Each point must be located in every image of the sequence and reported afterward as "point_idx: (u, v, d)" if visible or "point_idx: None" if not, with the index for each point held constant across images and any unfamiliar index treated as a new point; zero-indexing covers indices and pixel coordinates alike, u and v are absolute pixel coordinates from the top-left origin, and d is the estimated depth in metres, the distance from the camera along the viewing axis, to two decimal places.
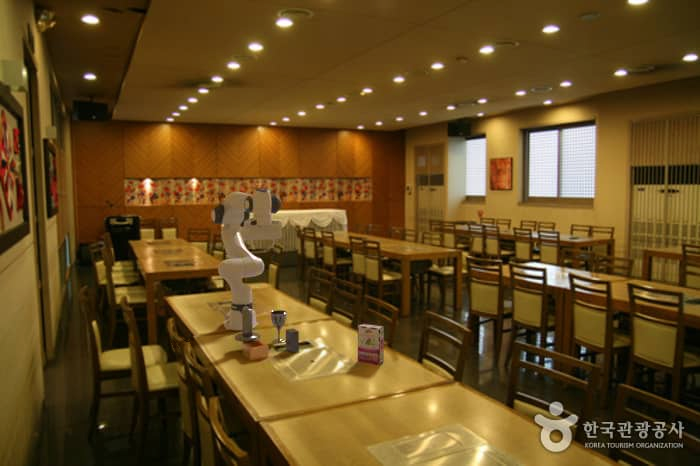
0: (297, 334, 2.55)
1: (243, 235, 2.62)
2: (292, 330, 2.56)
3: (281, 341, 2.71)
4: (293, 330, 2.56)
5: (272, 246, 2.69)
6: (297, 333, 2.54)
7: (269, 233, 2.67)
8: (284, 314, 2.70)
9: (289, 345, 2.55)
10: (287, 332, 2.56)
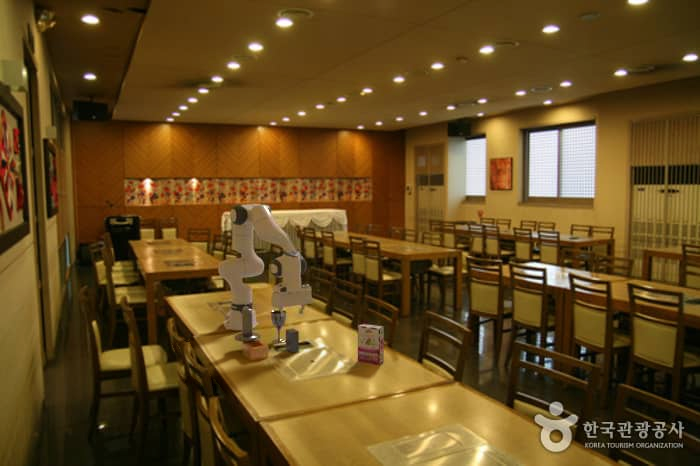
0: (297, 334, 2.55)
1: (272, 302, 2.50)
2: (292, 330, 2.56)
3: (281, 341, 2.71)
4: (293, 330, 2.56)
5: (302, 312, 2.57)
6: (296, 333, 2.54)
7: (299, 299, 2.55)
8: None
9: (289, 345, 2.55)
10: (287, 332, 2.56)
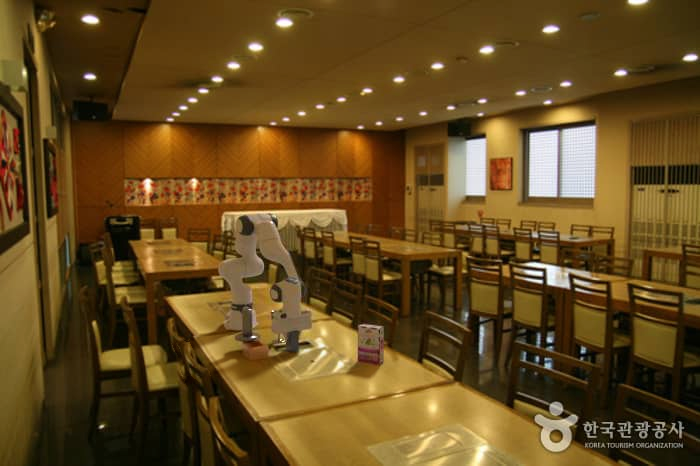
0: (297, 334, 2.55)
1: (272, 328, 2.51)
2: None
3: (281, 341, 2.71)
4: None
5: None
6: (297, 333, 2.54)
7: (299, 324, 2.56)
8: None
9: (289, 345, 2.55)
10: None
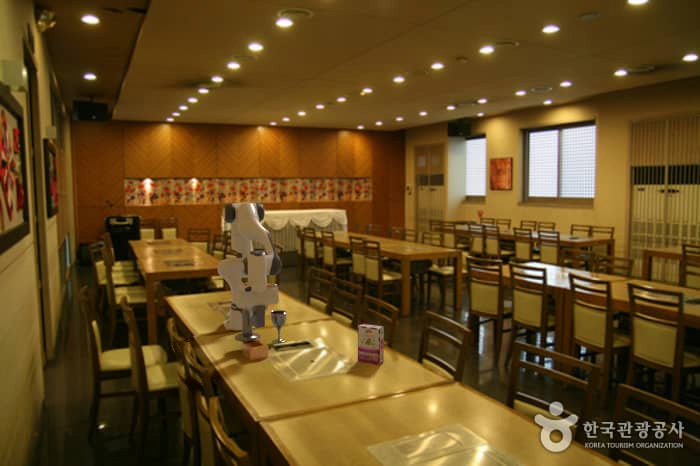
0: (263, 308, 2.46)
1: (237, 302, 2.43)
2: None
3: (281, 341, 2.71)
4: None
5: None
6: (262, 307, 2.46)
7: (265, 299, 2.48)
8: (284, 314, 2.70)
9: (254, 320, 2.47)
10: (253, 307, 2.48)
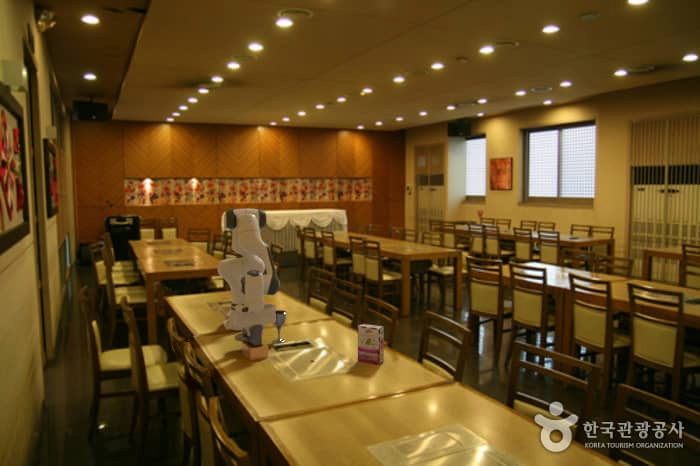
0: (260, 328, 2.46)
1: (234, 322, 2.43)
2: None
3: (281, 341, 2.71)
4: None
5: None
6: (259, 327, 2.46)
7: (262, 318, 2.48)
8: (284, 314, 2.70)
9: (251, 340, 2.47)
10: None
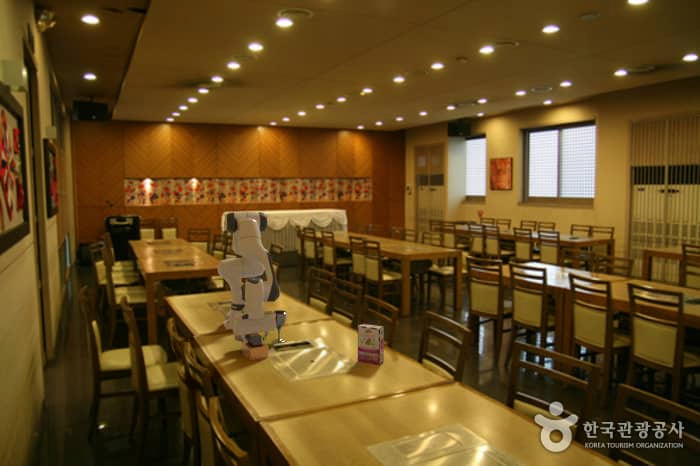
0: (260, 338, 2.47)
1: (234, 329, 2.43)
2: (254, 335, 2.48)
3: (281, 341, 2.71)
4: (256, 334, 2.49)
5: (265, 338, 2.51)
6: (259, 337, 2.47)
7: (262, 325, 2.48)
8: (284, 314, 2.70)
9: None
10: (250, 336, 2.49)
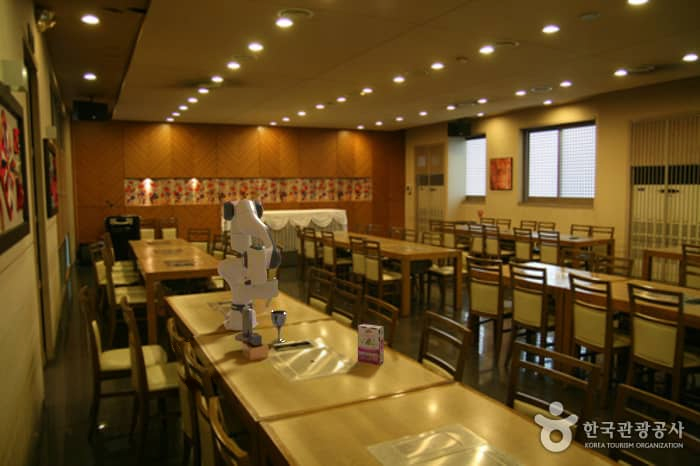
0: (260, 338, 2.47)
1: (236, 295, 2.45)
2: (255, 335, 2.48)
3: (281, 341, 2.71)
4: (256, 334, 2.49)
5: (267, 305, 2.53)
6: (259, 337, 2.47)
7: (264, 292, 2.50)
8: (284, 314, 2.70)
9: None
10: (250, 336, 2.49)
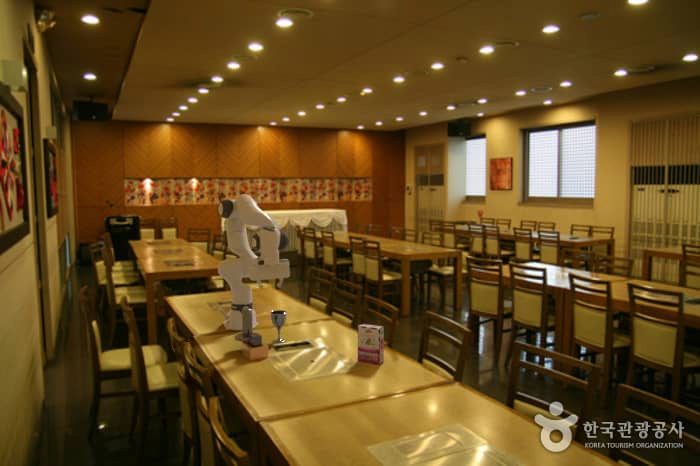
0: (260, 338, 2.47)
1: (250, 275, 2.56)
2: (255, 335, 2.48)
3: (281, 341, 2.71)
4: (256, 334, 2.49)
5: (279, 285, 2.63)
6: (259, 337, 2.47)
7: (276, 272, 2.61)
8: (284, 314, 2.70)
9: None
10: (250, 336, 2.49)
